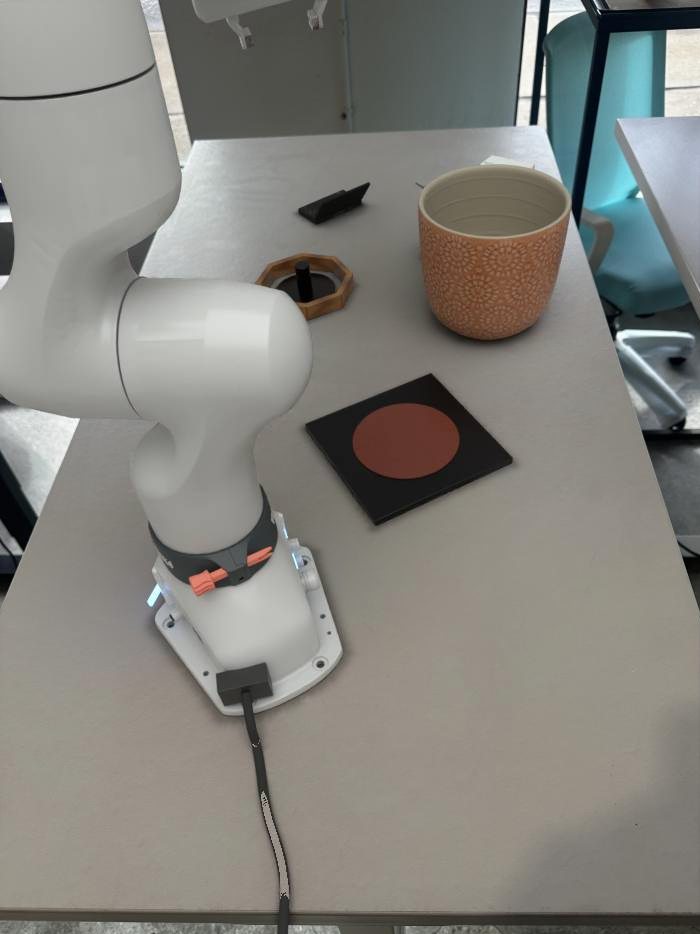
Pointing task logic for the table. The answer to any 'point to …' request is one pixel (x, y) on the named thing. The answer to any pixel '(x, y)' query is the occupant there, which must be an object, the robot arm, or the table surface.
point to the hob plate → (406, 447)
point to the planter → (492, 247)
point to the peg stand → (306, 284)
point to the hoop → (315, 263)
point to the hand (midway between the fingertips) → (282, 36)
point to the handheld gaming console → (334, 204)
